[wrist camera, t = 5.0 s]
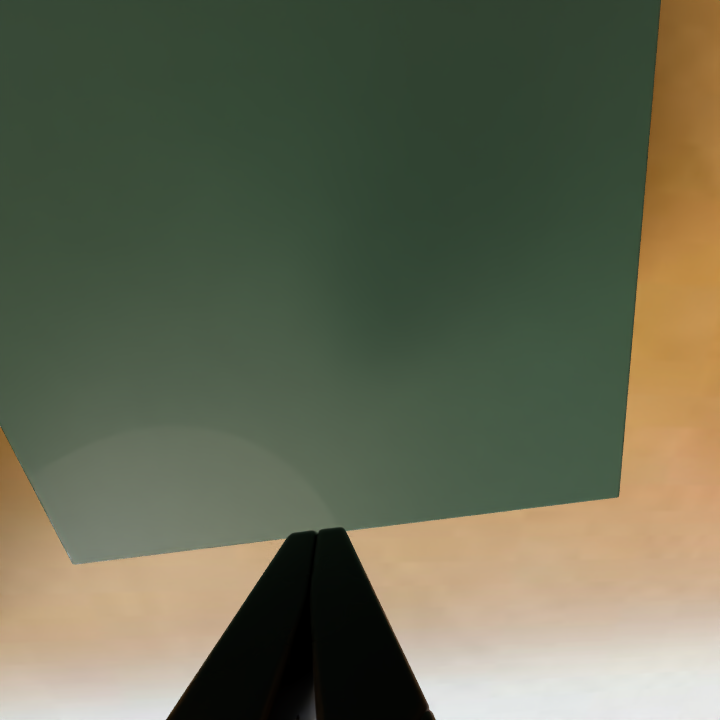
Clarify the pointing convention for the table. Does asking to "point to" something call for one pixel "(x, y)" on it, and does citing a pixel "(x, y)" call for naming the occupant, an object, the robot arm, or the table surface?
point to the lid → (316, 260)
